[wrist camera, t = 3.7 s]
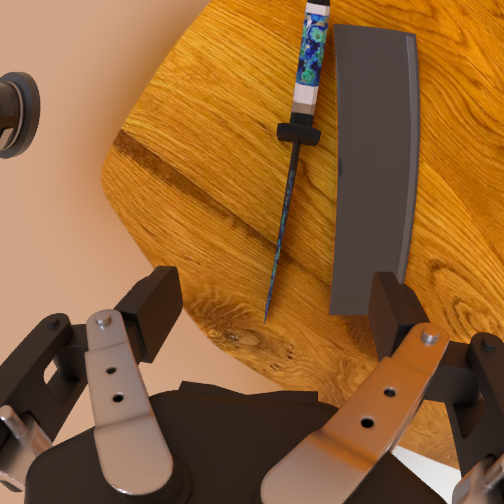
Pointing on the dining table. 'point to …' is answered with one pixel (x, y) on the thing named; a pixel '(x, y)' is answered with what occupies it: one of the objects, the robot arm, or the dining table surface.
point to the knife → (303, 104)
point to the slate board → (373, 160)
